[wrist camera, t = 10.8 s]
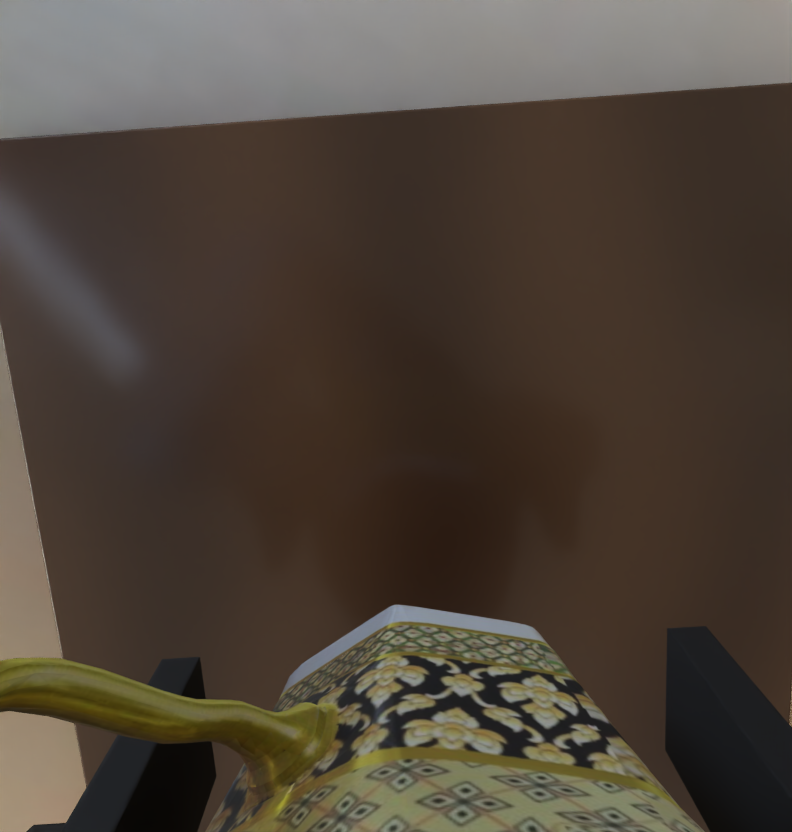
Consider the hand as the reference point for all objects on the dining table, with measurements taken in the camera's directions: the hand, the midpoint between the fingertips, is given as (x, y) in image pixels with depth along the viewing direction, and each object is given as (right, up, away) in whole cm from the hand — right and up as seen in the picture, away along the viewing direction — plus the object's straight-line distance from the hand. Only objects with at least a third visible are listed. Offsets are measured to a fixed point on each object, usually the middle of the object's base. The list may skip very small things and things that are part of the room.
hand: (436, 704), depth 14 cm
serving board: (0, +1, +6) cm, 6 cm away
